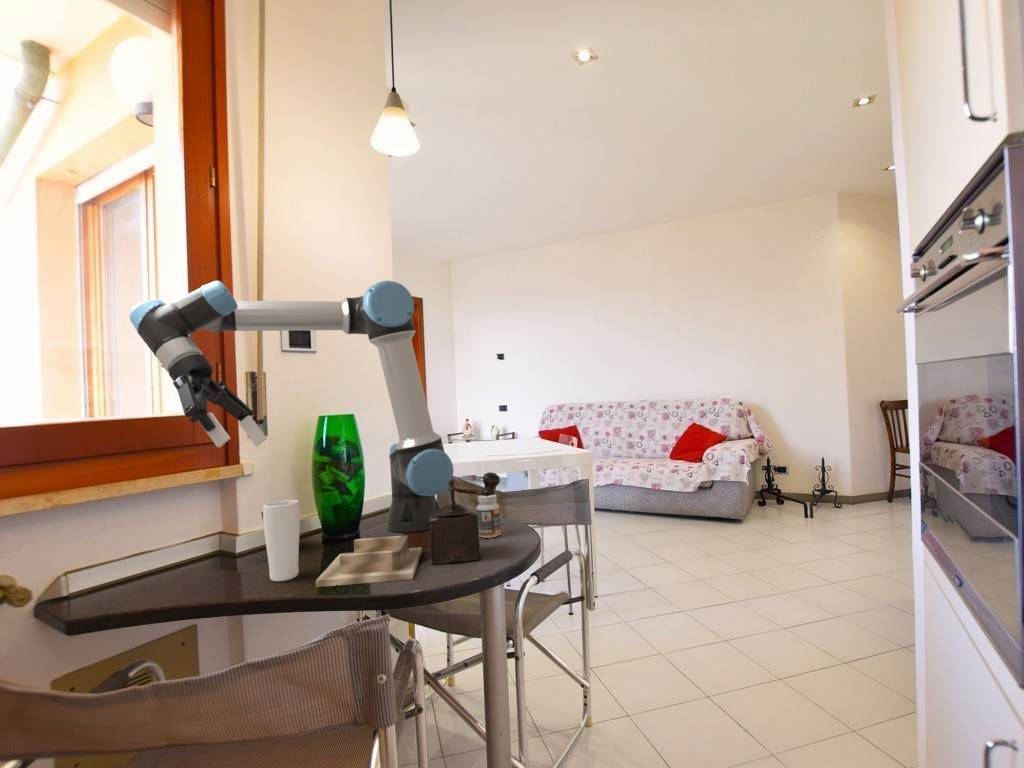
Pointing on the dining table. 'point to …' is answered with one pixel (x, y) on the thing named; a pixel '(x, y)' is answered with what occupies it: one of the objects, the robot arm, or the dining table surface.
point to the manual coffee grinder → (458, 527)
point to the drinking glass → (282, 538)
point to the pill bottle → (488, 516)
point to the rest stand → (373, 562)
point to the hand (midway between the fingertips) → (244, 442)
